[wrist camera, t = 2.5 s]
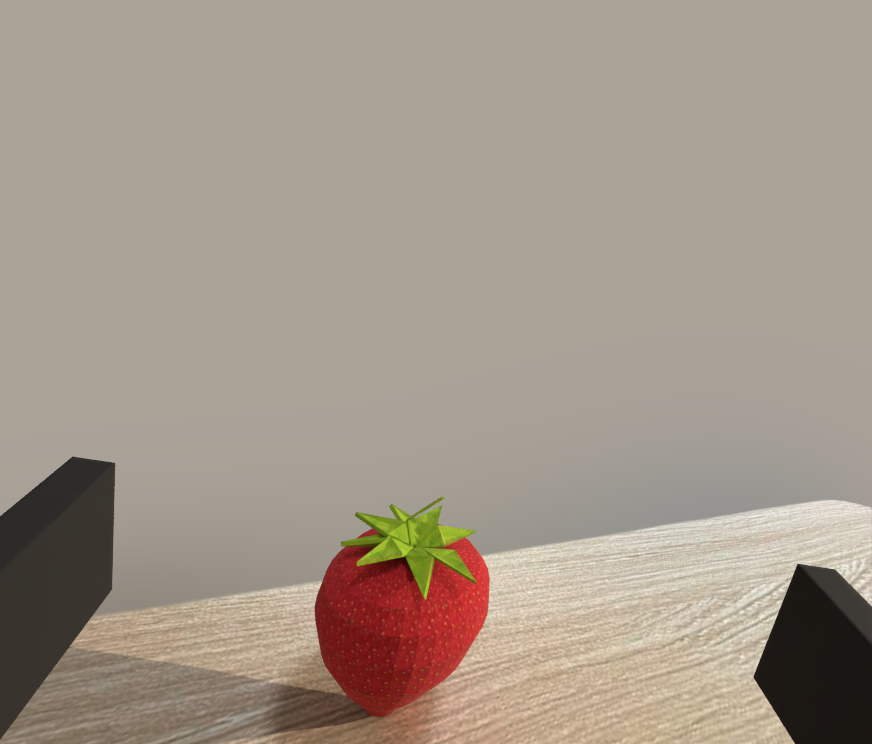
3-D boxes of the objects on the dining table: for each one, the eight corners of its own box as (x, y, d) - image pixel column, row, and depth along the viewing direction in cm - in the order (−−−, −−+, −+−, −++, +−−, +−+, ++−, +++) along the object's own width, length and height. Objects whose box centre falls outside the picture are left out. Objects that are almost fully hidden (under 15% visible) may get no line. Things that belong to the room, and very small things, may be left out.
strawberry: (491, 692, 28) (544, 483, 25) (390, 828, 21) (445, 570, 18) (378, 626, 30) (414, 429, 27) (259, 730, 24) (288, 490, 21)
